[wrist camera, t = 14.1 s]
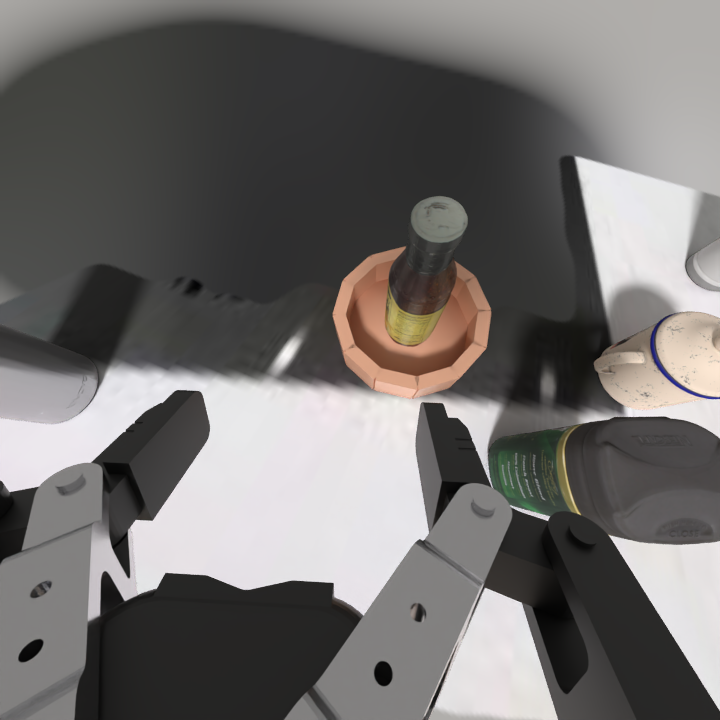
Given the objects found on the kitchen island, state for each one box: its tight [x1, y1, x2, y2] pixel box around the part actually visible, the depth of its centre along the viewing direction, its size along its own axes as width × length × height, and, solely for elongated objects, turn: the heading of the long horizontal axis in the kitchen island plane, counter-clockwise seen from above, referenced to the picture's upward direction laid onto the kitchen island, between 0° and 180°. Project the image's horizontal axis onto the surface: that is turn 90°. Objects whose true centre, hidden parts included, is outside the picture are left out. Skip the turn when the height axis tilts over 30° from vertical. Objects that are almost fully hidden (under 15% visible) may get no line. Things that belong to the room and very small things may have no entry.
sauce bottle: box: [385, 196, 468, 347], centre depth 31 cm, size 7×6×20 cm
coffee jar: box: [489, 417, 720, 545], centre depth 27 cm, size 10×8×19 cm
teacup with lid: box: [594, 312, 720, 410], centre depth 34 cm, size 12×9×12 cm
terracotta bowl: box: [333, 246, 491, 399], centre depth 40 cm, size 18×18×5 cm
